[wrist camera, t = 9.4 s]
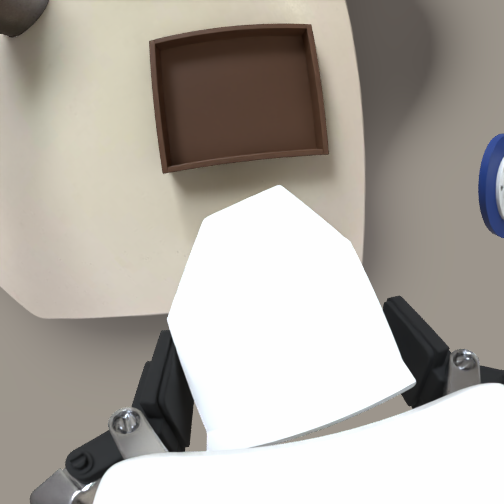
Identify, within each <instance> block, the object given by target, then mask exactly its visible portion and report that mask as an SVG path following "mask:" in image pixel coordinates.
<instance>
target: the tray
mask: <svg viewBox="0 0 504 504" xmlns="http://www.w3.org/2000/svg"><path fill="white" fill-rule="evenodd" d="M149 47H150V64H151V78H152V90H153V100H154V110H155V119H156V128H157V136H158V144H159V151H160V158H161V165H162V172H163V174H165V173H170V172H176V171H181V170H187V169H194V168H200V167H206V166H213V165H220V164H228V163H236V162H244V161H253V160H262V159H272V158H283V157H296V156H310V155H328V154H329V149H328V138H327V128H326V118H325V109H324V101H323V93H322V86H321V79H320V72H319V65H318V59H317V53H316V47H315V42H314V36H313V31H312V26H311V24H256V25H241V26H230V27H221V28H213V29H206V30H199V31H193V32H187V33H182V34H177V35H172V36H168V37H163V38H159V39H155V40H151V41H149Z"/></svg>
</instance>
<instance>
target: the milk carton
mask: <svg viewBox="0 0 504 504" xmlns="http://www.w3.org/2000/svg"><path fill="white" fill-rule="evenodd" d="M167 321H168V325H169V328H170V331H171V335H172V338H173V341H174V344H175V346H176V350H177V353H178V357H179V359H180V362H181V365H182V368H183V371H184V374H185V377H186V380H187V382H188V385H189V388H190V391H191V393H192V396H193V399H194V401H195V404H196V406H197V408H198V411H199V414H200V416H201V419H202V421H203V423H204V426H205V428H206V431H207V451H219V450H233V449H245V448H255V447H264V446H271V445H275V444H278V443H282V442H285V441H288V440H292V439H295V438H298V437H301V436H304V435H307V434H310V433H312V432H316V431H318V430H321V429H324V428H326V427H329V426H331V425H334V424H337V423H339V422H342V421H344V420H347V419H349V418H351V417H354V416H356V415H358V414H360V413H362V412H365V411H367V410H369V409H371V408H373V407H376V406H378V405H380V404H382V403H384V402H386V401H388V400H390V399H391V398H394V397H395V396H397V395H399V394H401V393H403V392H405V391H407V390H408V389H410V388H412V387H414V386H415V384H416V380H415V378H414V377H413V375H412V374H411V372H410V371H409V369H408V368H407V366H406V365H405V363H404V362H403V360H402V357H401V355H400V352H399V350H398V347H397V344H396V342H395V339H394V337H393V334H392V332H391V329H390V327H389V325H388V322H387V320H386V317H385V315H384V313H383V310H382V308H381V306H380V304H379V301H378V299H377V297H376V294H375V292H374V290H373V288H372V286H371V284H370V281H369V279H368V277H367V275H366V273H365V271H364V269H363V267H362V265H361V262H360V260H359V258H358V256H357V254H356V252H355V250H354V248H353V246H352V244H351V242H350V241H348V240H347V239H346V238H345V237H344V236H342V235H341V234H340V233H339V232H338V231H337V230H335V229H334V228H333V227H332V226H331V225H330V224H328V223H327V222H326V221H325V220H324V219H322V218H321V217H320V216H319V215H318V214H316V213H315V212H314V211H313V210H311V209H310V208H309V207H308V206H306V205H305V204H304V203H303V202H302V201H300V200H299V199H298V198H297V197H295V196H294V195H293V194H291V193H290V192H289V191H288V190H286V189H285V188H284V187H283V186H281V185H277V186H275V187H272V188H270V189H268V190H265V191H263V192H261V193H258V194H256V195H254V196H252V197H249V198H247V199H245V200H243V201H241V202H238V203H236V204H234V205H232V206H230V207H227V208H225V209H223V210H221V211H219V212H217V213H214V214H212V215H210V216H208V217H206V218H205V219H204V220H203V223H202V225H201V228H200V230H199V233H198V235H197V238H196V241H195V243H194V246H193V248H192V251H191V254H190V256H189V259H188V262H187V264H186V267H185V270H184V273H183V275H182V278H181V281H180V284H179V287H178V289H177V292H176V295H175V298H174V301H173V304H172V307H171V310H170V313H169V316H168V318H167Z"/></svg>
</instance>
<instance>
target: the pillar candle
mask: <svg viewBox="0 0 504 504" xmlns="http://www.w3.org/2000/svg"><path fill="white" fill-rule="evenodd" d="M47 3H48V0H0V34H4V35H7V36H9V37H16V36H19V35H20V34H22V33H23V32H25V31H26V30H27V29H28V28H29V27H30V26H31V25H32V24H33V23H34V22H35V21H36V20H37V19H38V18H39V16H40V15H41V14H42V12H43V11H44V9H45V7H46V5H47Z"/></svg>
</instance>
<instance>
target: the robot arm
mask: <svg viewBox="0 0 504 504" xmlns="http://www.w3.org/2000/svg"><path fill="white" fill-rule="evenodd" d="M496 203H497V208H498V211H499V214H500V216H501V218H502V219H503V220H504V157H503V159H502V161H501V163H500V166H499V169H498V173H497V178H496ZM383 313H384V315H385V317H386V320H387V322H388V325H389V327H390V329H391V332H392V334H393V337H394V339H395V342H396V344H397V347H398V350H399V352H400V355H401V357H402V360H403V362H404V363H405V365H406V366H407V368H408V369H409V371H410V372H411V374H412V375H413V377H414V378H415V380H416V384H415V386H414V387H412V388H410V389H408V390H407V391H405V392H403V393H401V395H402V396H403V398H404V400H405V401H406V403H407V404H408V406H412V408H413V409H412V410H409V411H407V412H404V413H401V414H399V415H396V416H393V417H390V418H387V419H384V420H381V421H378V422H375V423H372V424H368V425H365V426H362V427H358V428H354V429H351V430H347V431H343V432H339V433H335V434H331V435H327V436H322V437H318V438H313V439H308V440H302V441H297V442H291V443H285V444H279V445H272V446H264V447H255V448H245V449H233V450H219V451H198V452H185V447H189V445H190V434H191V425H192V415H193V405H194V399H193V396H192V393H191V391H190V388H189V385H188V382H187V380H186V377H185V374H184V371H183V368H182V365H181V362H180V359H179V357H178V353H177V350H176V346H175V344H174V341H173V338H172V335H171V331H170V330H164V331H163V330H162V331H161V333H160V336H159V339H158V342H157V345H156V348H155V351H154V354H153V357H152V361H147V362H146V364H145V366H144V369H143V372H142V375H141V378H140V381H139V385H138V388H137V391H136V394H135V398H134V401H133V404H132V407H125V408H122V409H119V410H117V411H116V412H114V414H112V416H111V417H110V419H109V422H108V427H109V430H108V431H107V432H105V433H103V434H101V435H100V436H98V437H96V438H95V439H93V440H91V441H89V442H88V443H86V444H84V445H82V446H81V447H79V448H77V449H75V450H73V451H72V452H71V453H70V454H69V455H68V456H67V459H66V464H65V466H66V468H65V469H63V470H62V469H58V470H57V471H56V472H55V473H54V474H53V475H52V476H50V477H49V478H48V479H47V480H46V481H45V482H43V483H42V484H41V485H40V486H39V487H37V488H36V489H35V490H34V491H33V492H32V494H31V496H30V504H504V370H498V369H494V368H489V367H485V366H480V365H479V359H478V357H477V356H476V355H475V354H474V353H473V352H471V351H469V350H465V349H459V350H455V351H454V352H452V353H451V352H450V351H449V347H448V346H447V345H446V344H445V342H444V341H443V340H442V339H441V338H440V337H439V336H438V335H437V334H436V333H435V331H434V330H433V329H432V328H431V327H430V326H429V325H428V324H427V323H426V322H425V321H424V320H423V319H422V318H421V316H420V315H418V313H417V312H416V311H415V310H414V309H413V308H412V307H411V306H410V305H409V304H408V303H407V302H406V301H405V300H404V299H403V298H402V297H401V296H395V297H391V298H388V299H387V302H385V303H384V306H383Z"/></svg>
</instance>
